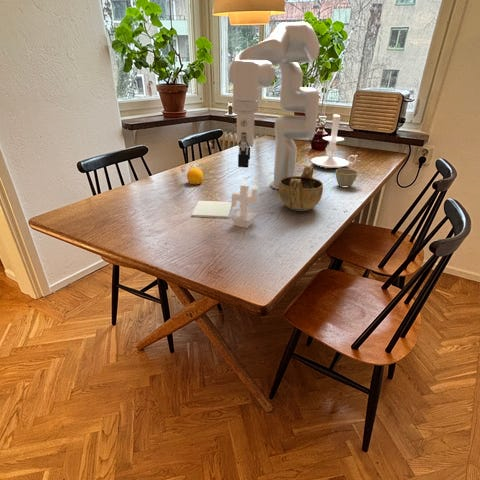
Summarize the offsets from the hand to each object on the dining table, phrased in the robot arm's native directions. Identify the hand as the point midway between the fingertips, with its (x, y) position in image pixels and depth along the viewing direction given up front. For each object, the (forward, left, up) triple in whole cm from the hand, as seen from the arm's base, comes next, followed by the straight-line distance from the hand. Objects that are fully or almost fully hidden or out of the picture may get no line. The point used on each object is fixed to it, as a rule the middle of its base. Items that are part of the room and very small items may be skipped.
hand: (244, 163), depth 106 cm
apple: (+26, -43, -23) cm, 55 cm away
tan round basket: (-21, -17, -23) cm, 35 cm away
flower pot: (-45, -46, -23) cm, 69 cm away
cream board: (+13, -12, -23) cm, 29 cm away
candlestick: (-45, -77, -23) cm, 92 cm away
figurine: (0, 0, -23) cm, 23 cm away
